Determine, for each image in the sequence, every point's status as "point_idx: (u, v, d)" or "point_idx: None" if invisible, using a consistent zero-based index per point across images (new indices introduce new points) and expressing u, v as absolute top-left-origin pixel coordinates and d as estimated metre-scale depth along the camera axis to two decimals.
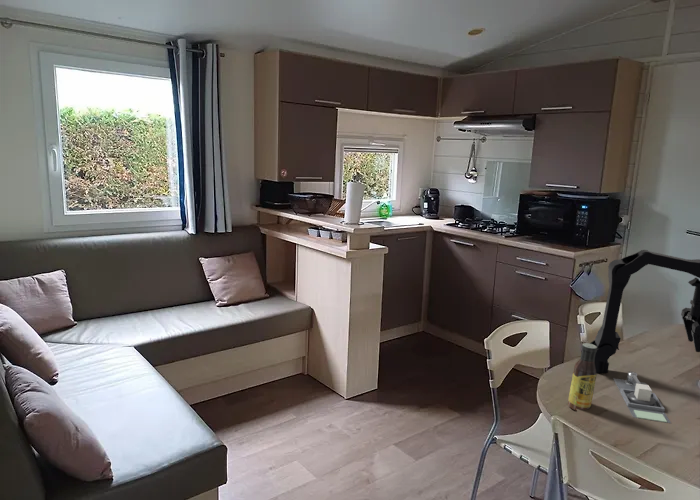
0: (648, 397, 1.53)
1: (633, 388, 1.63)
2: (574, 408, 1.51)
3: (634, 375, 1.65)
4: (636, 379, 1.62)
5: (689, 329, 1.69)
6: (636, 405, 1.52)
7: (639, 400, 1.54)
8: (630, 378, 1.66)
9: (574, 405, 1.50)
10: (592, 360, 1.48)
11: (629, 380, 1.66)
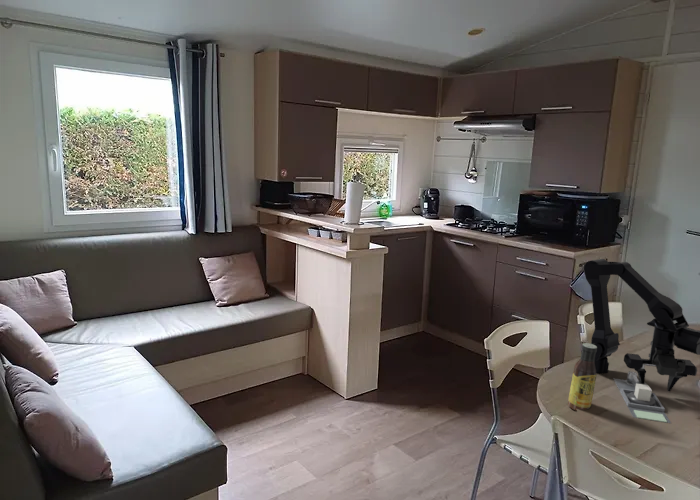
0: (648, 397, 1.53)
1: (633, 388, 1.63)
2: (574, 408, 1.51)
3: (634, 375, 1.65)
4: (636, 379, 1.62)
5: (669, 378, 1.59)
6: (636, 405, 1.52)
7: (639, 400, 1.54)
8: (630, 378, 1.66)
9: (574, 405, 1.50)
10: (592, 360, 1.48)
11: (629, 380, 1.66)
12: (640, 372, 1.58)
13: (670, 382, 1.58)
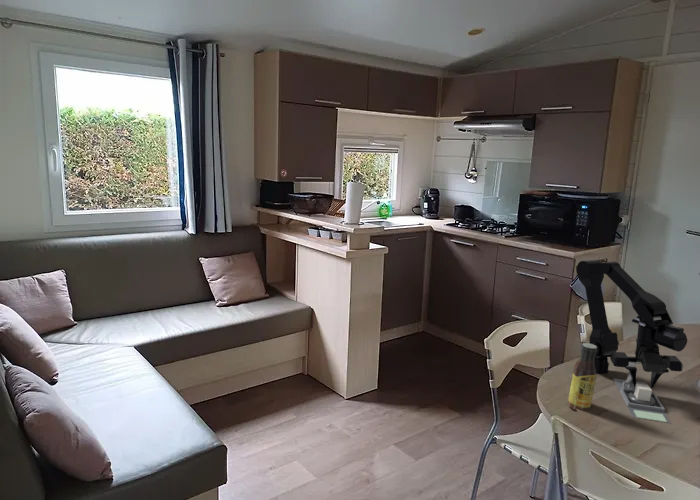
0: (648, 397, 1.53)
1: (633, 388, 1.63)
2: (574, 408, 1.51)
3: None
4: (629, 378, 1.63)
5: (652, 374, 1.60)
6: (636, 405, 1.52)
7: (639, 400, 1.54)
8: None
9: (574, 405, 1.50)
10: (592, 360, 1.48)
11: None
12: (631, 370, 1.58)
13: (653, 378, 1.59)
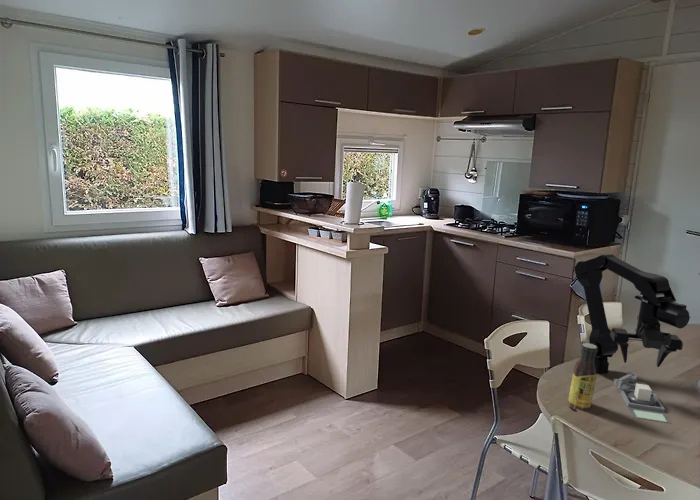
0: (648, 397, 1.53)
1: (633, 388, 1.63)
2: (574, 408, 1.51)
3: (630, 374, 1.65)
4: (625, 376, 1.63)
5: (659, 353, 1.58)
6: (636, 405, 1.52)
7: (639, 400, 1.54)
8: None
9: (574, 405, 1.50)
10: (592, 360, 1.48)
11: None
12: (622, 346, 1.57)
13: (659, 357, 1.57)
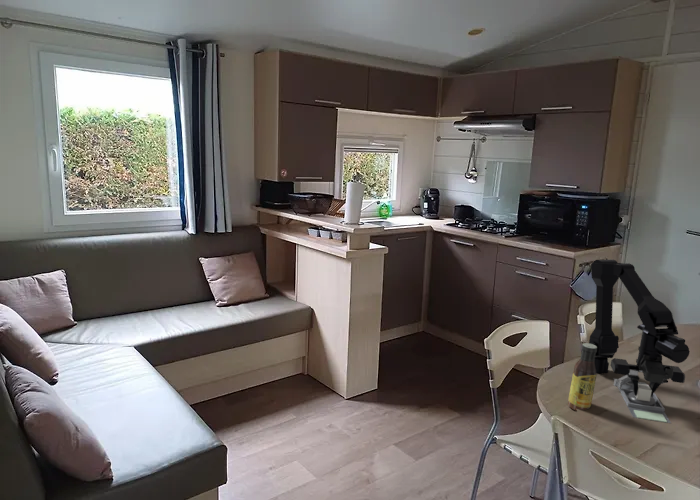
0: (648, 397, 1.53)
1: None
2: (574, 408, 1.51)
3: None
4: (625, 376, 1.63)
5: (650, 384, 1.55)
6: (636, 405, 1.52)
7: (639, 400, 1.54)
8: None
9: (574, 405, 1.50)
10: (592, 360, 1.48)
11: None
12: (633, 379, 1.53)
13: (651, 388, 1.54)
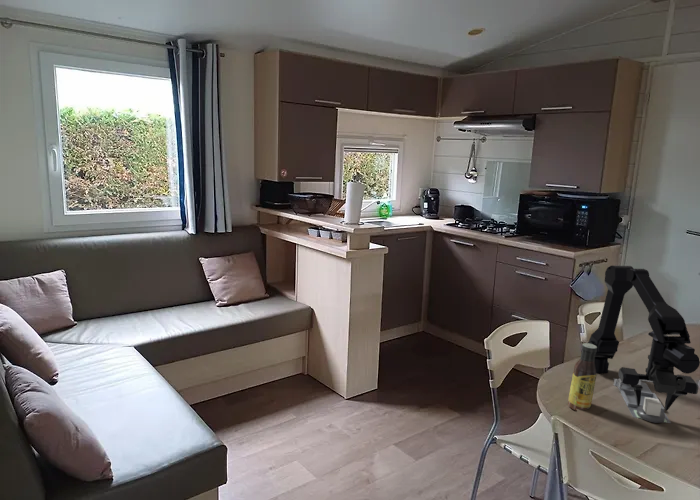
0: (658, 412, 1.44)
1: None
2: (574, 408, 1.51)
3: None
4: None
5: (667, 395, 1.45)
6: (636, 405, 1.52)
7: (648, 415, 1.45)
8: None
9: (574, 405, 1.50)
10: (592, 360, 1.48)
11: None
12: (636, 388, 1.44)
13: (668, 400, 1.44)
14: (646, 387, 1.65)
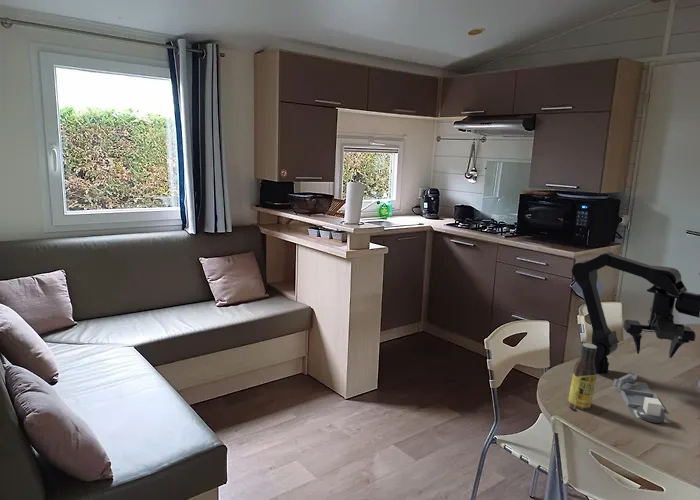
0: (658, 412, 1.44)
1: (633, 388, 1.63)
2: (574, 408, 1.51)
3: (630, 374, 1.65)
4: (625, 376, 1.63)
5: (671, 345, 1.60)
6: (636, 405, 1.52)
7: (648, 415, 1.45)
8: None
9: (574, 405, 1.50)
10: (592, 360, 1.48)
11: None
12: (636, 337, 1.60)
13: (672, 348, 1.59)
14: (646, 387, 1.65)
